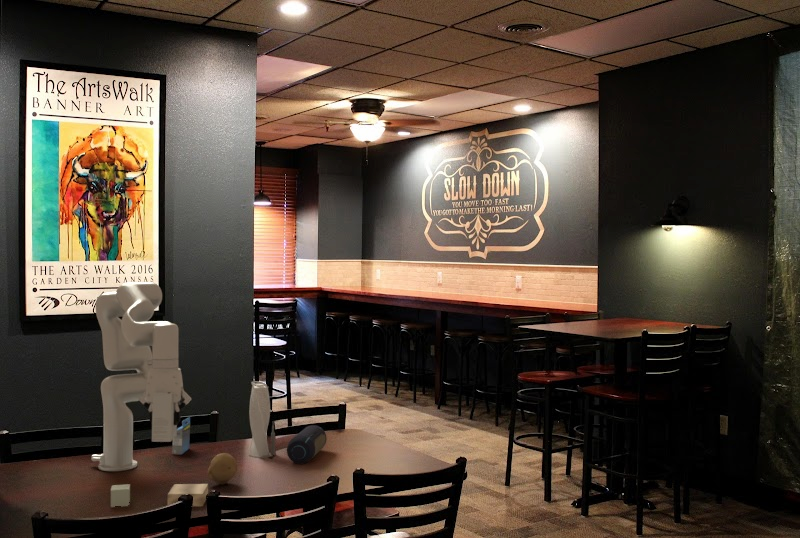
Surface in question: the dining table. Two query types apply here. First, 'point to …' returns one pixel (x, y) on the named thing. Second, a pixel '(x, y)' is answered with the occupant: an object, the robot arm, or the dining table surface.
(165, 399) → the skincare box
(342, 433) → the dining table surface
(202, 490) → the maple slab
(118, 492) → the sage block
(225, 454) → the tan rounded lump
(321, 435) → the portable speaker
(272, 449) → the skyscraper
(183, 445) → the label tape box
